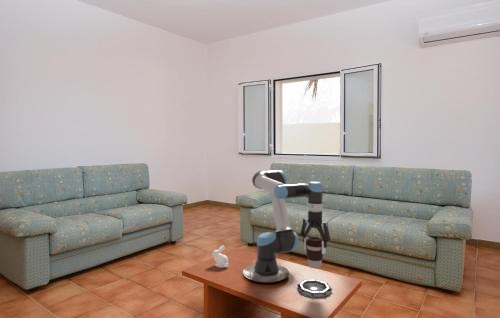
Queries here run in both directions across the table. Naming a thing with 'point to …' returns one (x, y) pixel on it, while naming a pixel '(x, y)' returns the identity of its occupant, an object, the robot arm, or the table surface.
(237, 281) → the table surface
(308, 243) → the coffee cup
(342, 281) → the table surface
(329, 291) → the grey flat octagonal tray
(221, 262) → the rabbit
